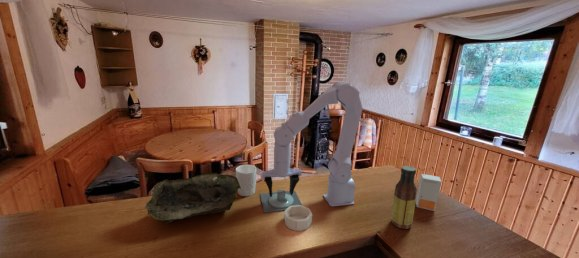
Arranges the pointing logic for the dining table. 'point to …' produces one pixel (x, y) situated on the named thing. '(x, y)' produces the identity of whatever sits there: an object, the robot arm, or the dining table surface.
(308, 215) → the bowl
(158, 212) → the hollow geode rock
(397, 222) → the sauce bottle
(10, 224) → the dining table surface
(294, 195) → the mat
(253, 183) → the white cup
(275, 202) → the lid
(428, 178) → the skincare box
